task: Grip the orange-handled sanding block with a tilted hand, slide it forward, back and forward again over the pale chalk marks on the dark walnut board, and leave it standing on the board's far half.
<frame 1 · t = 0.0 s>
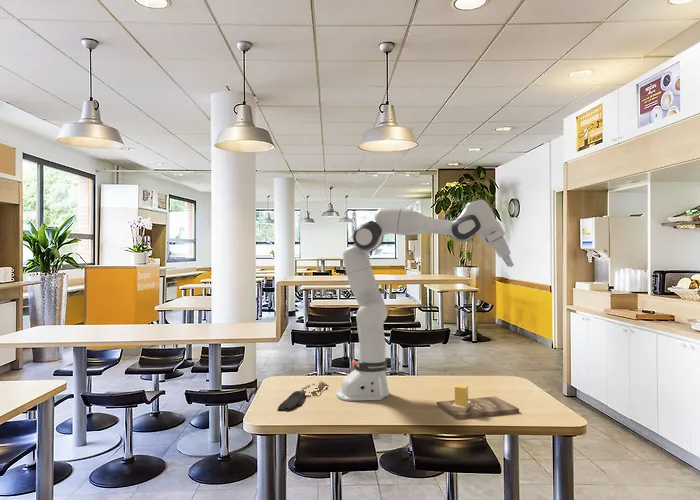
hand: (510, 266, 196), 54 cm above the table, tool tilted 30°, fingers open, 8 cm apart
wooden fragment: (314, 390, 216), on the table, touching dark grey tapered piece
dark grey tapered piece: (294, 404, 196), on the table, touching wooden fragment
walnut board: (476, 409, 188), on the table
sanding block: (461, 407, 185), point 2 cm above the table, touching walnut board
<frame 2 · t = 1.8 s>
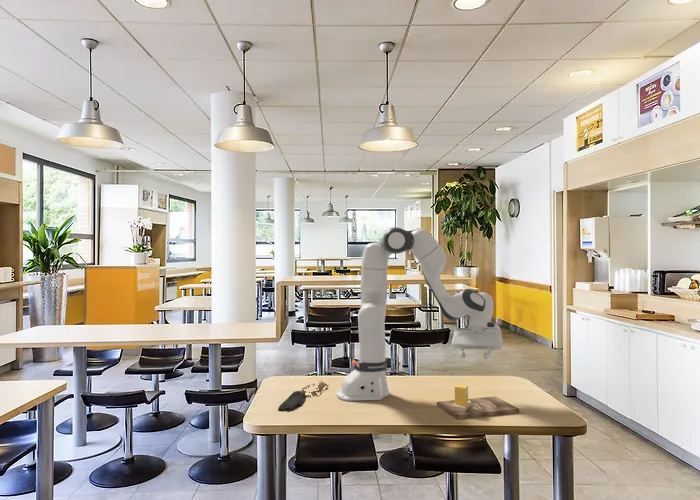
hand: (473, 357, 196), 18 cm above the table, tool tilted 40°, fingers open, 8 cm apart
nothing on the table moved.
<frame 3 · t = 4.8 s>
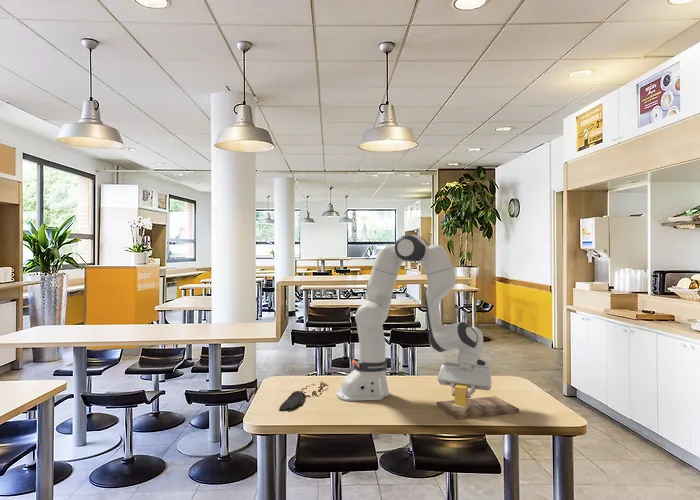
hand: (460, 396, 185), 6 cm above the table, tool tilted 45°, fingers closed on sanding block, 4 cm apart
sanding block: (461, 407, 185), point 2 cm above the table, touching gripper, walnut board
everything else where it was.
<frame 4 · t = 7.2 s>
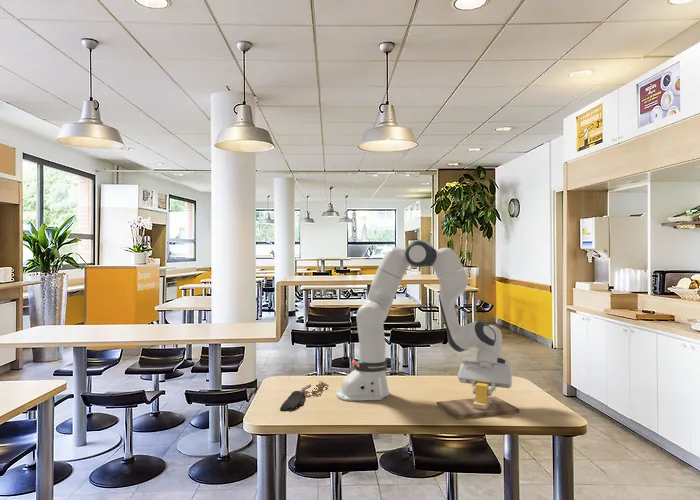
hand: (481, 394, 187), 6 cm above the table, tool tilted 45°, fingers closed on sanding block, 4 cm apart
sanding block: (482, 405, 187), point 2 cm above the table, touching gripper
everything else where it was.
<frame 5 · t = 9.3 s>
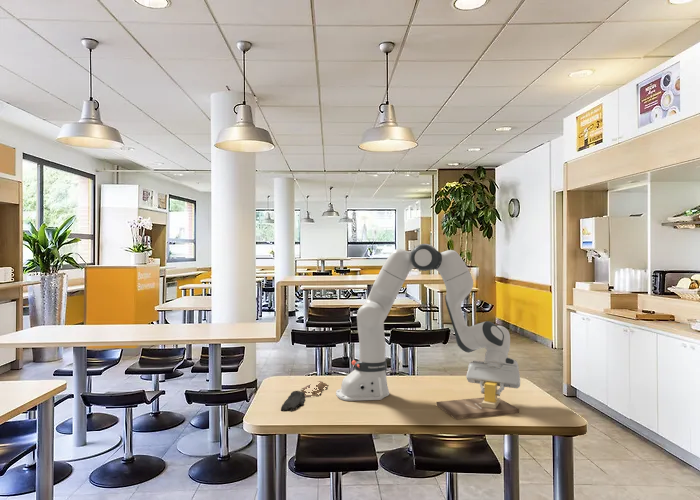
hand: (490, 394, 188), 6 cm above the table, tool tilted 45°, fingers closed on sanding block, 4 cm apart
wooden fragment: (314, 390, 216), on the table
dark grey tapered piece: (295, 403, 197), on the table
sanding block: (490, 404, 189), point 2 cm above the table, touching gripper
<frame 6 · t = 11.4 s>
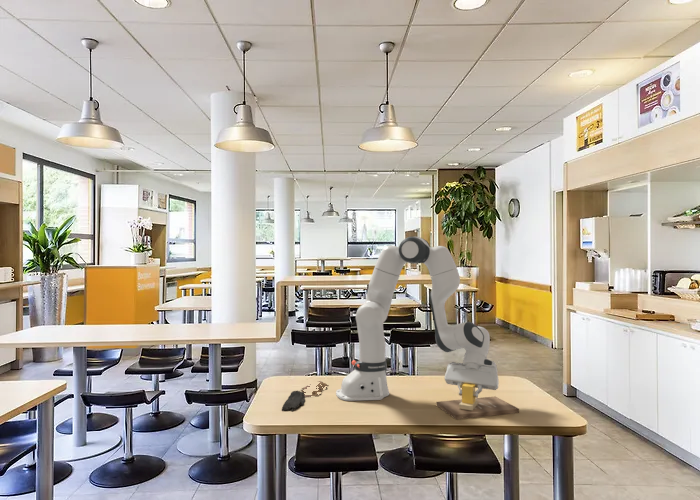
hand: (468, 395, 186), 6 cm above the table, tool tilted 45°, fingers closed on sanding block, 4 cm apart
sanding block: (468, 406, 186), point 2 cm above the table, touching gripper
everything else where it was.
when the fingers open (6 cm above the table, at t = 14.3 s): sanding block stays where it is, point 2 cm above the table.
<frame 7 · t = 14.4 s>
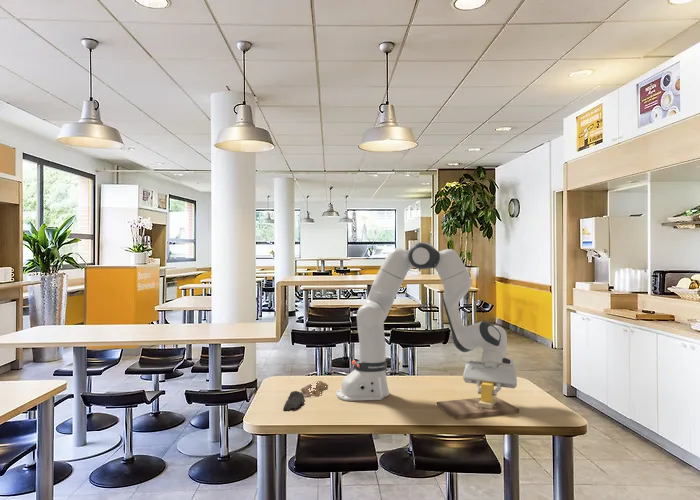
hand: (487, 394, 188), 6 cm above the table, tool tilted 45°, fingers open, 4 cm apart
sanding block: (487, 404, 188), point 2 cm above the table
everything else where it was.
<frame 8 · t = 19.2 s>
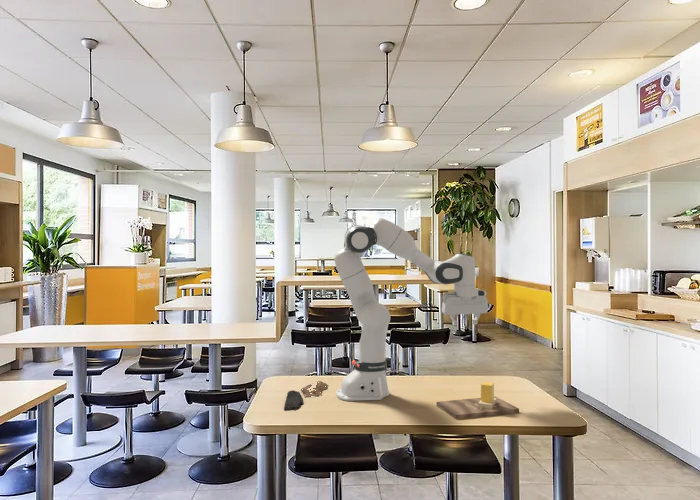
hand: (464, 324, 209), 29 cm above the table, tool pointing down, fingers open, 8 cm apart
dark grey tapered piece: (294, 403, 198), on the table
sanding block: (487, 404, 188), point 2 cm above the table, touching walnut board
everything else where it was.
at the end: sanding block inside the target area on the walnut board (0.8 cm from its centre), point 1.5 cm above the walnut board's base; sanding block tilted 0°; the gripper is holding nothing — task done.
